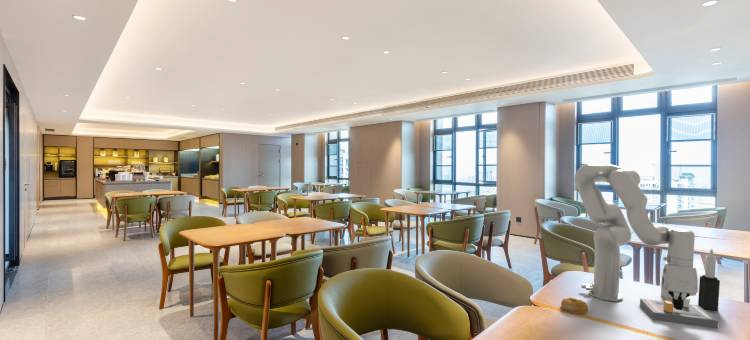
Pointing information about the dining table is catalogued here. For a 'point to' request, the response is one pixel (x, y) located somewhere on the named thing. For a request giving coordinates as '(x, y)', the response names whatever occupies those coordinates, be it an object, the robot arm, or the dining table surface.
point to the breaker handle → (668, 306)
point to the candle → (709, 286)
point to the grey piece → (667, 295)
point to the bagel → (574, 306)
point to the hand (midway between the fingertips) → (677, 308)
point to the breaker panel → (679, 314)
